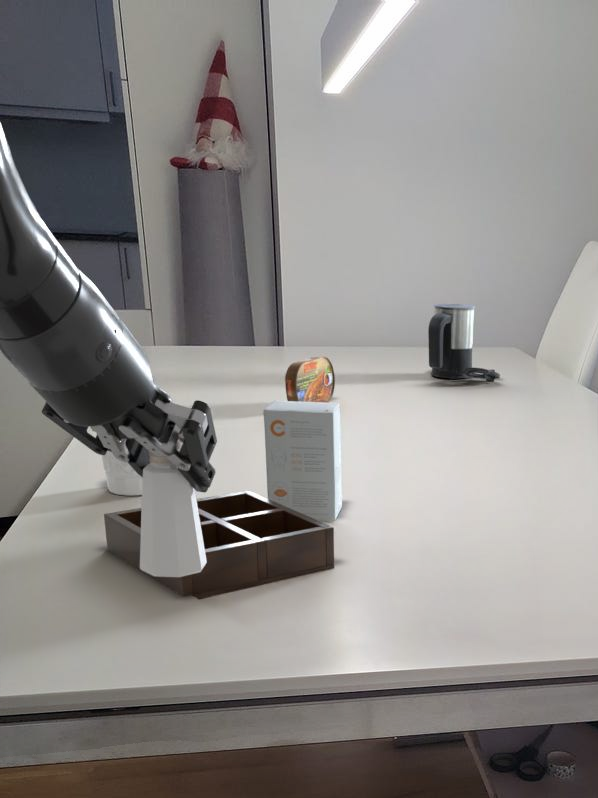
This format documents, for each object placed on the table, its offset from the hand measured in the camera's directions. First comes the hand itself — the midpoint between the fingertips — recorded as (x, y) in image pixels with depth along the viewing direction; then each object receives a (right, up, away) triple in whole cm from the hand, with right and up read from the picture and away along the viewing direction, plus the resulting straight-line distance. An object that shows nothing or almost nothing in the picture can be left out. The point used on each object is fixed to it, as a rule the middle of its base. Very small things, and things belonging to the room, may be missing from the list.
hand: (181, 478), depth 85 cm
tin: (-6, +29, +103) cm, 107 cm away
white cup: (-20, +6, +48) cm, 52 cm away
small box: (+3, +2, +41) cm, 41 cm away
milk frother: (+21, +43, +139) cm, 147 cm away
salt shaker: (-1, -7, +1) cm, 7 cm away
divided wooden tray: (-3, -5, +23) cm, 24 cm away
